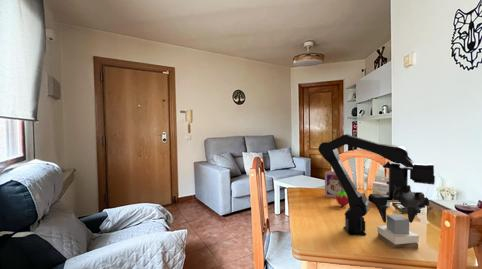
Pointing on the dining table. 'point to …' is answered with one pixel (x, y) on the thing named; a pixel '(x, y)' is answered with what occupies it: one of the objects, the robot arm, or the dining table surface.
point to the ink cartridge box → (381, 187)
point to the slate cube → (398, 224)
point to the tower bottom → (398, 246)
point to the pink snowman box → (332, 184)
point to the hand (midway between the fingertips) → (397, 222)
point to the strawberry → (342, 198)
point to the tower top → (398, 236)
